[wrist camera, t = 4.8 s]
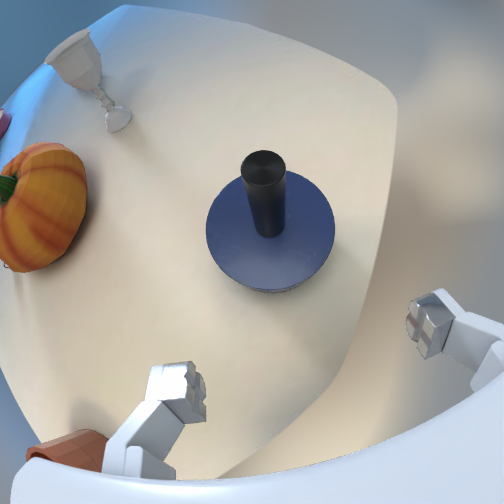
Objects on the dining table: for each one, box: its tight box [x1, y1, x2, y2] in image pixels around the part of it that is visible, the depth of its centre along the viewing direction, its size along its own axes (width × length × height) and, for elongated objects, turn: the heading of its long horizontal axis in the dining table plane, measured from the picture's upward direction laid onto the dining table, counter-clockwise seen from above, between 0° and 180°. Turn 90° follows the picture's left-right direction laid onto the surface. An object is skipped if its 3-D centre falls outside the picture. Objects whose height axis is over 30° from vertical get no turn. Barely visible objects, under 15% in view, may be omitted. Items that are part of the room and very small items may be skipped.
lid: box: [206, 150, 335, 291], centre depth 20 cm, size 11×11×10 cm
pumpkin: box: [0, 142, 87, 273], centre depth 28 cm, size 19×19×15 cm
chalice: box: [44, 28, 132, 132], centre depth 30 cm, size 7×7×18 cm
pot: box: [26, 429, 109, 473], centre depth 20 cm, size 10×10×10 cm
